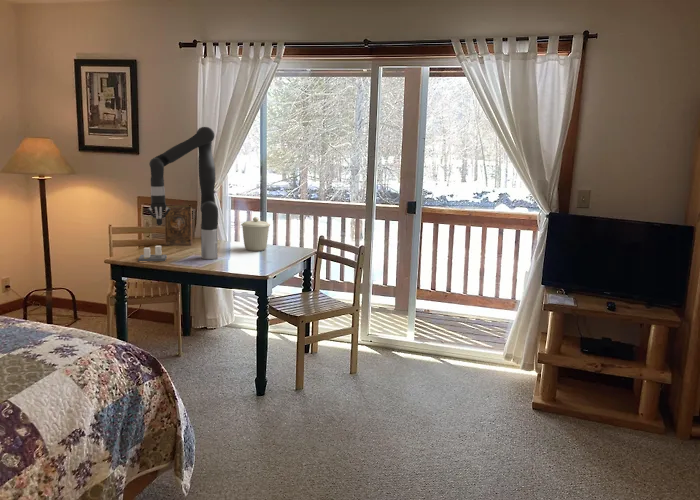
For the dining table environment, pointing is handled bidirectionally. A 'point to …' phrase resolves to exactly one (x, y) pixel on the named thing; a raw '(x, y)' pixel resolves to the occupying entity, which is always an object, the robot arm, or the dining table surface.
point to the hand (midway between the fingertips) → (159, 225)
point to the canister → (255, 234)
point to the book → (179, 226)
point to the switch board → (153, 258)
